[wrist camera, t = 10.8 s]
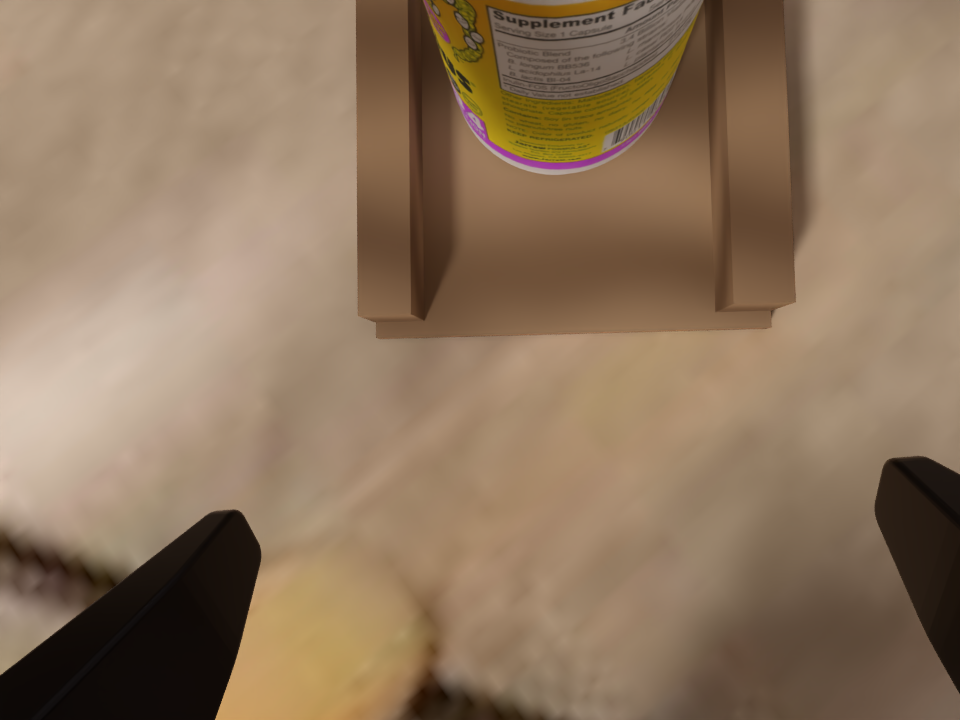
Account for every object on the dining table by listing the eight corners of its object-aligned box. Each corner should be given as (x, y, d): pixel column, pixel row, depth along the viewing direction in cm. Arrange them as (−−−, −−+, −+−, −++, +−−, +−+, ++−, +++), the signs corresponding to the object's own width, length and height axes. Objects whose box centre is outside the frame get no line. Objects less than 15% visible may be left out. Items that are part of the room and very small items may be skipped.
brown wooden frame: (766, 328, 18) (885, 296, 11) (379, 338, 19) (295, 315, 13) (745, -201, 19) (845, -504, 12) (376, -152, 20) (295, -399, 14)
